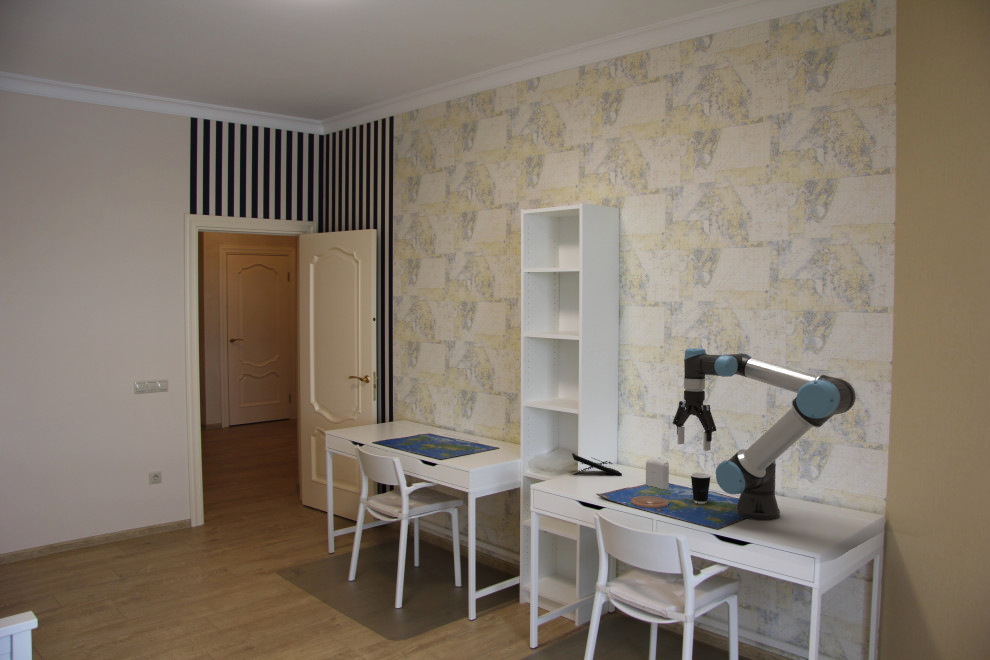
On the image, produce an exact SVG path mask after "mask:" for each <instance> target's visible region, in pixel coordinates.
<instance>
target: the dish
mask: <svg viewBox="0 0 990 660" xmlns="http://www.w3.org/2000/svg"><path fill="white" fill-rule="evenodd" d="M630 501H631V502H630V503H631V504H632V505H633V506H635V507H636V506H637V507H639V508H640V507H641V508H647V509H648V508H649V509H660V508H661V509H662V508H665V507H668V506H669V505H668V504H670V503H669V502H670V501H669V500H668V499H666V498H664V497H660V496H653V495H637V496H635V497H632V498H631V500H630Z"/></svg>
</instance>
